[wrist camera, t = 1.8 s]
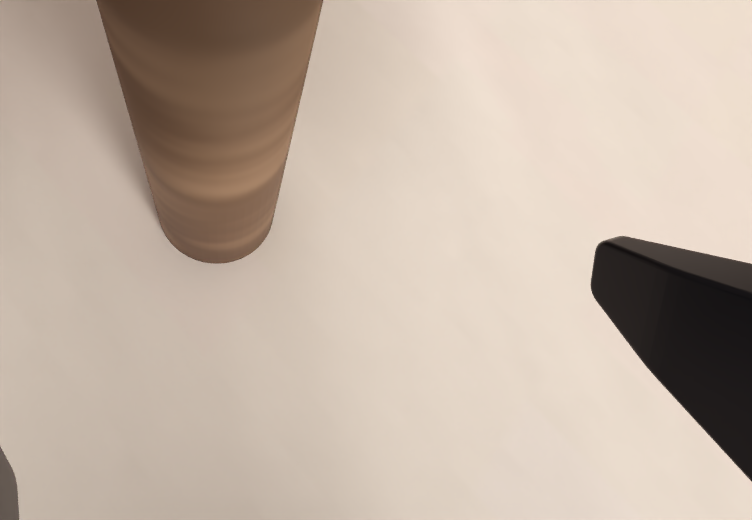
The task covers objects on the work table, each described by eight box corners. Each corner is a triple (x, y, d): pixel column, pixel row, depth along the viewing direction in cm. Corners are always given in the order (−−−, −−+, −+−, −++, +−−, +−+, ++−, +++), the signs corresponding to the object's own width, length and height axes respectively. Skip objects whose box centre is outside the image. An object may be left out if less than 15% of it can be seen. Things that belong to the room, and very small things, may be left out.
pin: (295, 219, 23) (376, -23, 11) (207, 285, 22) (188, 93, 10) (226, 138, 23) (230, -186, 11) (134, 199, 22) (26, -96, 10)
